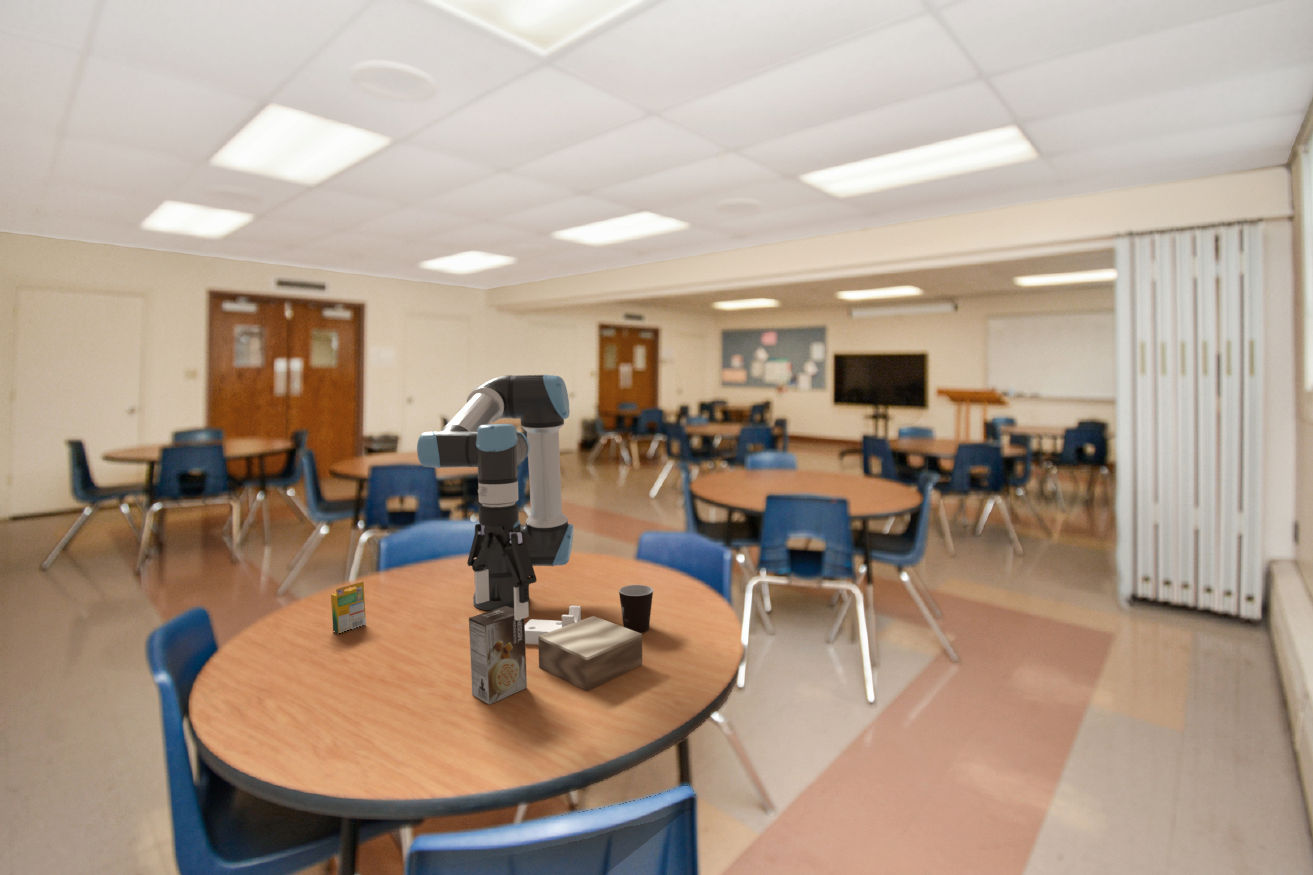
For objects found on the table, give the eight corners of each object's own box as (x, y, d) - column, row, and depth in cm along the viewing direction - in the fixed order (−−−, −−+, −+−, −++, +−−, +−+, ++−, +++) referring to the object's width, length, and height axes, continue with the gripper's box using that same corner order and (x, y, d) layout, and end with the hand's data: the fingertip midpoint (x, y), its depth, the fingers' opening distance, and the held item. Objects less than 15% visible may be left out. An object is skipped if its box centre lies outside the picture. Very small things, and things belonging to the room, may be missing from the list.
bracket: (580, 635, 153) (580, 606, 153) (572, 647, 146) (572, 616, 146) (530, 632, 155) (530, 603, 155) (520, 644, 148) (519, 613, 148)
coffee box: (509, 678, 130) (507, 604, 129) (527, 688, 126) (526, 611, 125) (470, 695, 124) (468, 616, 122) (488, 705, 119) (486, 624, 118)
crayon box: (360, 622, 162) (358, 579, 161) (366, 625, 160) (364, 581, 159) (332, 631, 156) (330, 586, 155) (338, 634, 154) (336, 589, 153)
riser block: (538, 667, 136) (538, 636, 135) (593, 644, 147) (593, 615, 147) (587, 690, 125) (586, 657, 124) (642, 664, 137) (641, 633, 136)
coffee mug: (649, 636, 152) (649, 596, 151) (615, 633, 154) (615, 594, 153) (658, 619, 163) (658, 582, 162) (627, 616, 165) (626, 580, 164)
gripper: (448, 498, 126) (451, 600, 128) (520, 514, 110) (522, 631, 111) (480, 493, 132) (483, 591, 133) (553, 508, 115) (556, 619, 117)
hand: (501, 609), depth 122 cm, fingers open, 13 cm apart
